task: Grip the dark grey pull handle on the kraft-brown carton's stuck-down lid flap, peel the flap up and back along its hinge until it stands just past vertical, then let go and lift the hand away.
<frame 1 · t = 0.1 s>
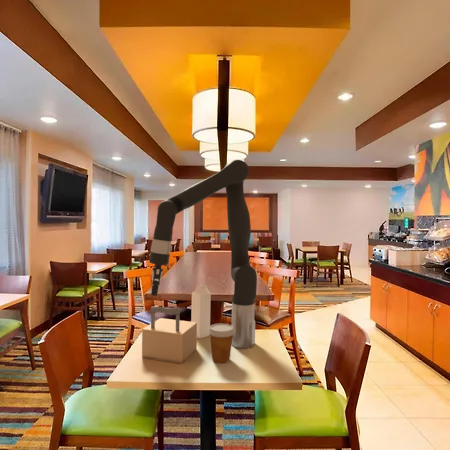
hand: (154, 292, 132), 22 cm above the table, tool pointing down, fingers open, 8 cm apart
carton: (170, 353, 130), on the table
disposable coffee cup: (220, 360, 125), on the table
carton flap: (170, 315, 129), point 14 cm above the table, hinge at 0.0°
milk: (200, 335, 150), on the table
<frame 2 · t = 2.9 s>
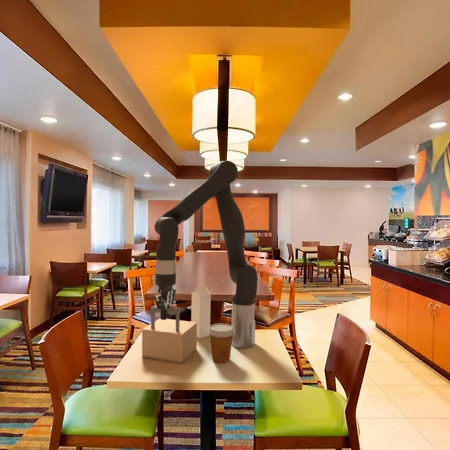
hand: (165, 318, 125), 15 cm above the table, tool pointing down, fingers closed on carton flap, 2 cm apart
carton flap: (170, 315, 129), point 14 cm above the table, hinge at -0.1°, touching gripper
everything else where it was.
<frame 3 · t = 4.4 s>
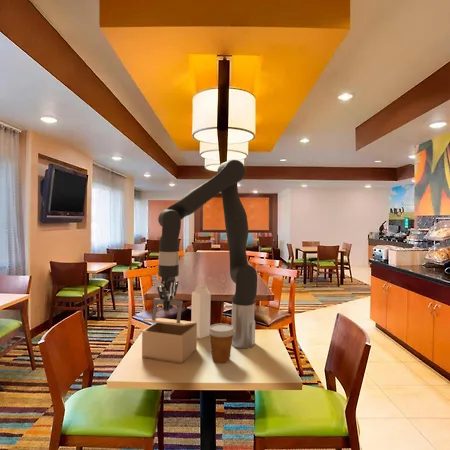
hand: (168, 309, 127), 18 cm above the table, tool pointing down, fingers closed on carton flap, 2 cm apart
carton flap: (172, 310, 131), point 16 cm above the table, hinge at 14.1°, touching gripper
everything else where it was.
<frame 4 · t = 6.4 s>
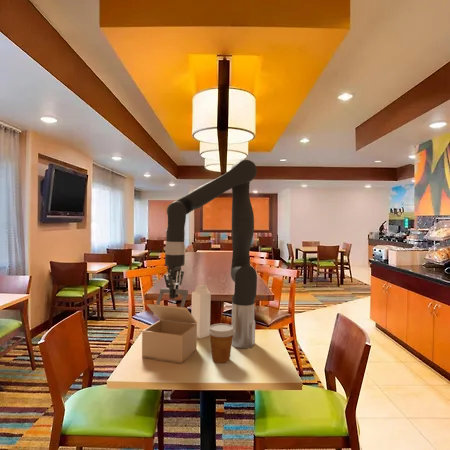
hand: (173, 297, 132), 21 cm above the table, tool pointing down, fingers closed on carton flap, 2 cm apart
carton flap: (175, 304, 133), point 18 cm above the table, hinge at 38.2°, touching gripper
everything else where it was.
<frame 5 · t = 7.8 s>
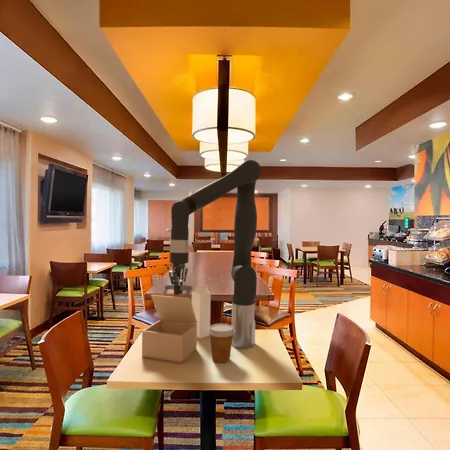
hand: (178, 294, 136), 21 cm above the table, tool pointing down, fingers closed on carton flap, 2 cm apart
carton flap: (178, 301, 136), point 18 cm above the table, hinge at 56.1°, touching gripper
everything else where it was.
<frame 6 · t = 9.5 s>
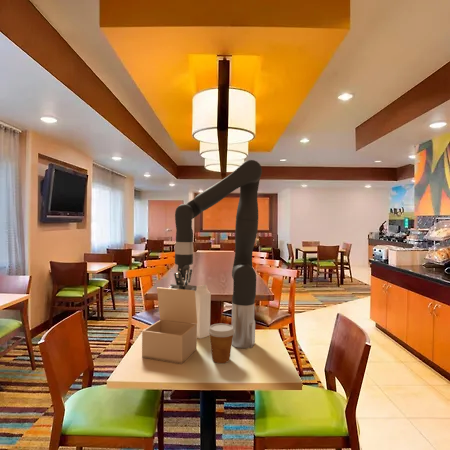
hand: (183, 294, 141), 20 cm above the table, tool pointing down, fingers closed on carton flap, 2 cm apart
carton flap: (181, 300, 139), point 18 cm above the table, hinge at 77.0°, touching gripper
everything else where it was.
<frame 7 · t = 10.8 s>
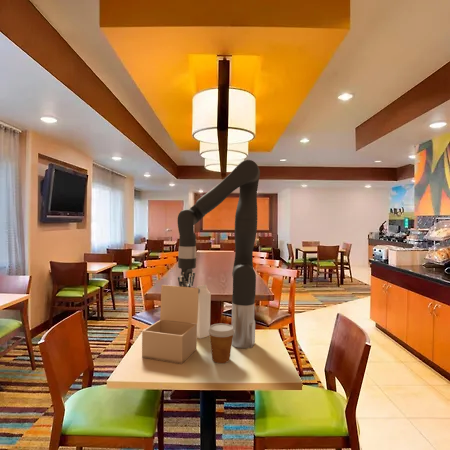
hand: (186, 297, 144), 18 cm above the table, tool pointing down, fingers closed on carton flap, 2 cm apart
carton flap: (183, 302, 141), point 17 cm above the table, hinge at 93.4°, touching gripper
everything else where it was.
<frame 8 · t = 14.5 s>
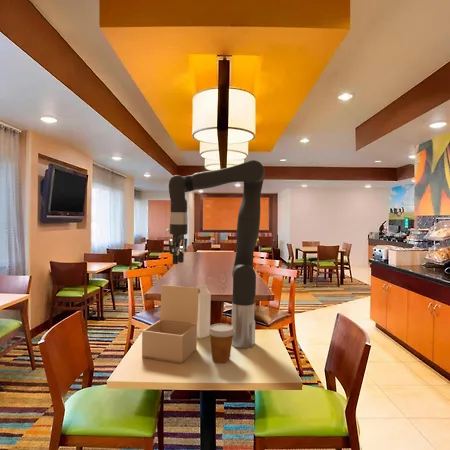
hand: (178, 263, 144), 32 cm above the table, tool pointing down, fingers open, 5 cm apart
carton flap: (183, 302, 141), point 17 cm above the table, hinge at 93.6°
everything else where it was.
at the end: carton flap at +94° (first picture: +0°); the gripper is holding nothing; milk moved 0.2 cm from its start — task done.
